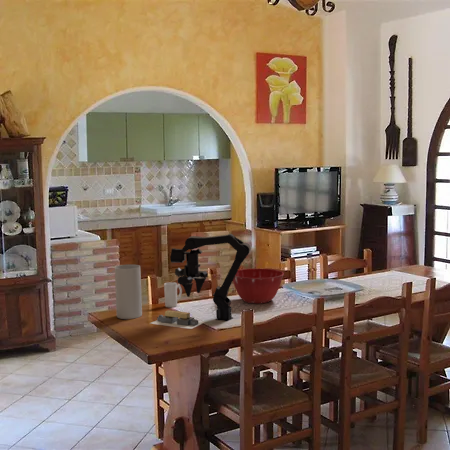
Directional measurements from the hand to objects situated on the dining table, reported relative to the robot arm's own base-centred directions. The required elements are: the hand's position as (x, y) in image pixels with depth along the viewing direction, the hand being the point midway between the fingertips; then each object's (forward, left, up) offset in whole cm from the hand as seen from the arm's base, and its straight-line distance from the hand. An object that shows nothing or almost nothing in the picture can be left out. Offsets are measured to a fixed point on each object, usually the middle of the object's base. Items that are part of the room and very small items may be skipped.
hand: (193, 294), depth 305 cm
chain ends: (+3, +10, -12) cm, 16 cm away
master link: (+3, +10, -12) cm, 16 cm away
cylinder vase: (+32, +9, -12) cm, 35 cm away
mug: (+24, -19, -12) cm, 33 cm away
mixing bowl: (-12, -46, -12) cm, 49 cm away
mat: (+3, +10, -12) cm, 16 cm away
